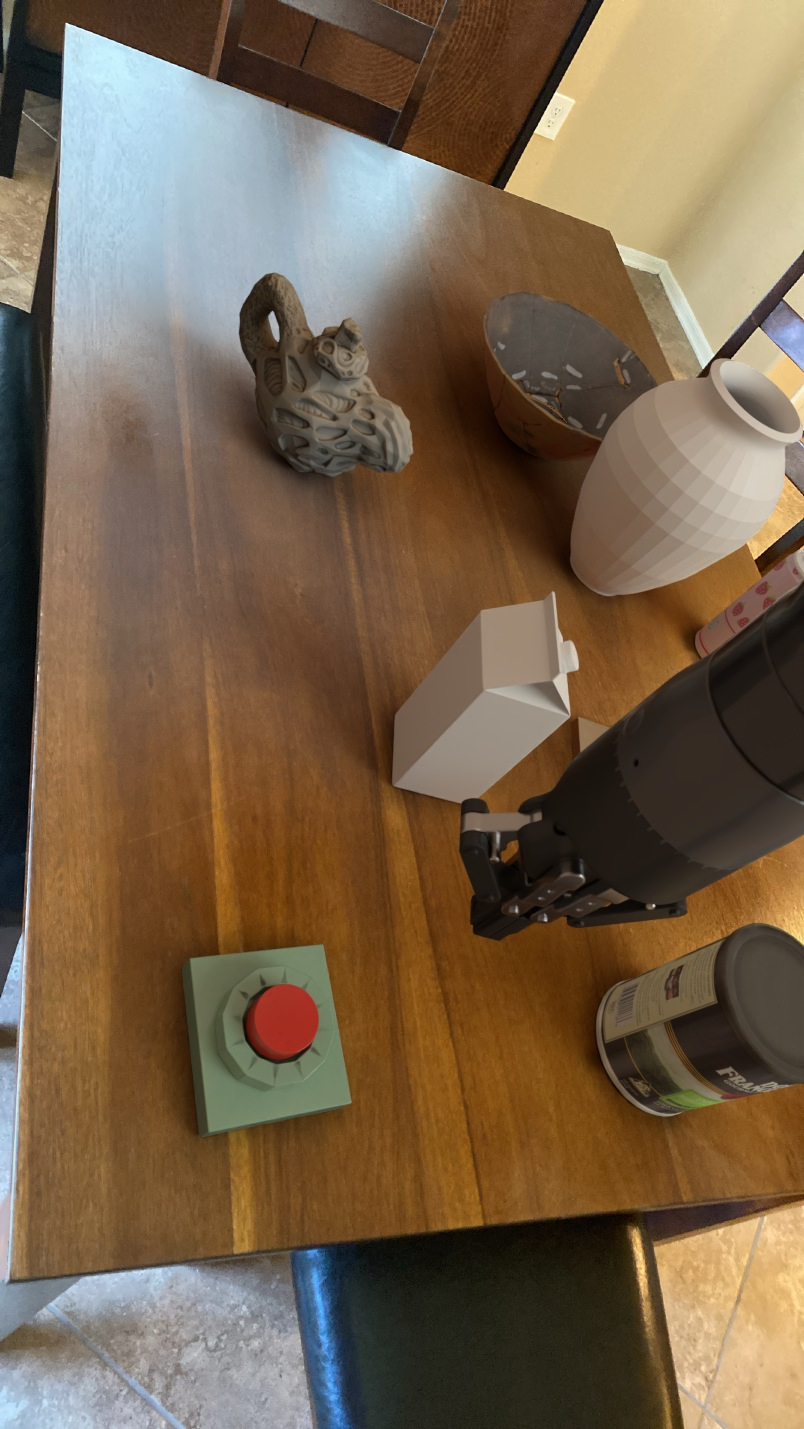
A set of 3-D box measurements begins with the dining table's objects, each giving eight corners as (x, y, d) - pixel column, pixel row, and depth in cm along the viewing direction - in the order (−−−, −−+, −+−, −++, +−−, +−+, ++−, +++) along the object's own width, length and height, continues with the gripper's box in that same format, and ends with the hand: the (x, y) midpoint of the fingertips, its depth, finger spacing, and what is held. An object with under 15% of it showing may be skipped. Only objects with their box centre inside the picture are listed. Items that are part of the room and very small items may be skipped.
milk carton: (390, 787, 70) (514, 656, 55) (393, 714, 74) (509, 574, 59) (468, 807, 72) (606, 686, 58) (467, 736, 76) (595, 606, 62)
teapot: (405, 497, 89) (476, 381, 78) (339, 542, 82) (408, 421, 70) (256, 360, 90) (304, 226, 79) (177, 391, 83) (218, 248, 71)
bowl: (546, 357, 118) (590, 293, 110) (650, 494, 111) (704, 436, 103) (405, 357, 103) (444, 283, 95) (515, 517, 96) (566, 451, 88)
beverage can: (706, 624, 101) (806, 540, 90) (740, 661, 100) (845, 581, 89) (684, 641, 97) (785, 556, 86) (719, 680, 96) (826, 599, 85)
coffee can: (715, 1119, 67) (867, 1086, 56) (606, 1114, 63) (746, 1078, 52) (687, 984, 72) (820, 930, 62) (585, 972, 69) (708, 913, 58)
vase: (577, 644, 89) (755, 469, 70) (502, 511, 95) (647, 318, 76) (687, 627, 99) (868, 471, 80) (612, 508, 105) (764, 336, 86)
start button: (314, 1054, 53) (324, 1047, 51) (250, 1065, 51) (259, 1058, 49) (303, 987, 54) (312, 980, 53) (241, 995, 52) (249, 988, 51)
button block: (339, 1109, 55) (363, 1098, 52) (198, 1138, 51) (216, 1128, 48) (312, 953, 60) (333, 935, 57) (181, 967, 55) (196, 949, 52)
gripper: (561, 813, 30) (366, 960, 43) (846, 906, 34) (589, 1015, 47) (556, 650, 35) (381, 828, 48) (808, 748, 39) (583, 888, 52)
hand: (485, 921), depth 47 cm, fingers closed
